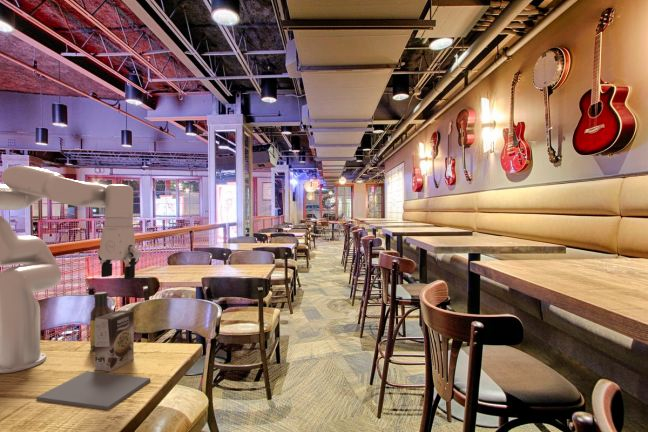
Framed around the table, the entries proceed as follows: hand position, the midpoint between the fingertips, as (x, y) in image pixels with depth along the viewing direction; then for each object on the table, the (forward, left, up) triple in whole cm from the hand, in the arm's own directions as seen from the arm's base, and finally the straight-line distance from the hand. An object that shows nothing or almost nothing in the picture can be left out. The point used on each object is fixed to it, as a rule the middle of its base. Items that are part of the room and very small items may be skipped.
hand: (118, 277), depth 101 cm
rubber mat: (+6, -13, -28) cm, 32 cm away
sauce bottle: (-18, +11, -28) cm, 35 cm away
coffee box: (-2, +1, -28) cm, 28 cm away
